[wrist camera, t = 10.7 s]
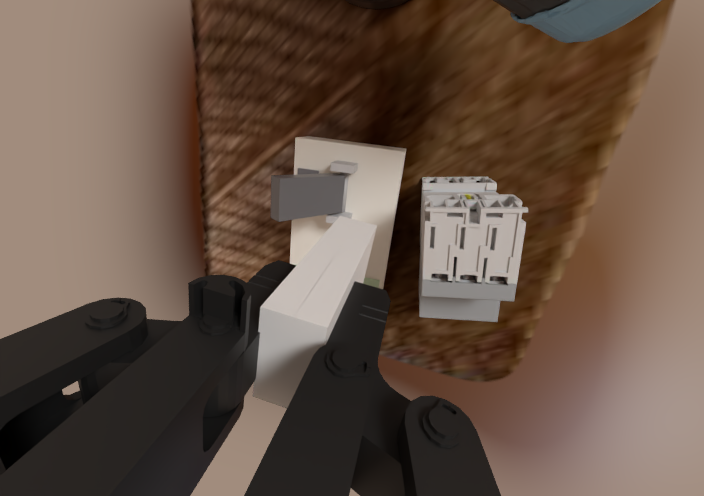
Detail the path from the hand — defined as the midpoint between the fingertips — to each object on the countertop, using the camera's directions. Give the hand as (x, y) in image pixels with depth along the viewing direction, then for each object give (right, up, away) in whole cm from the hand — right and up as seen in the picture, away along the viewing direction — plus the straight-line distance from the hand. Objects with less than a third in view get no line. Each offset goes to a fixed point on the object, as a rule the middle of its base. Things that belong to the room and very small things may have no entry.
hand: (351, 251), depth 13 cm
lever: (-1, +6, +23) cm, 23 cm away
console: (-1, +3, +30) cm, 30 cm away
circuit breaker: (+12, +2, +28) cm, 31 cm away
